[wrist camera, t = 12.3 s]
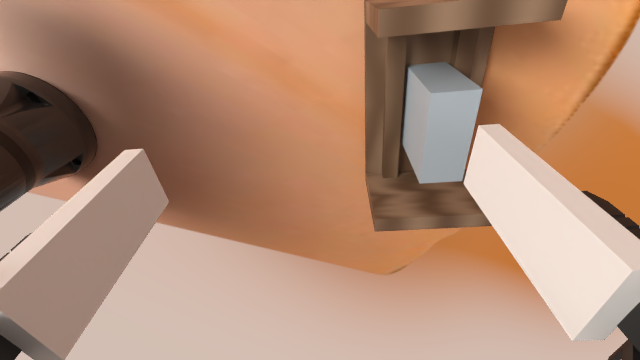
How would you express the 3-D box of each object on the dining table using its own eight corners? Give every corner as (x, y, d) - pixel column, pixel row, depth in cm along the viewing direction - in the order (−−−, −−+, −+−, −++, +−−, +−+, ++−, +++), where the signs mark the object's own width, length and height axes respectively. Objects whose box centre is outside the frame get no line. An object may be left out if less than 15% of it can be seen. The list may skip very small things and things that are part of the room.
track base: (365, 179, 45) (374, 231, 36) (364, -1, 32) (378, 9, 22) (458, 174, 44) (491, 225, 35) (498, -15, 30) (571, -12, 21)
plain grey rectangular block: (401, 141, 40) (419, 183, 32) (406, 65, 34) (430, 93, 26) (434, 138, 40) (462, 181, 31) (445, 61, 34) (483, 89, 26)
